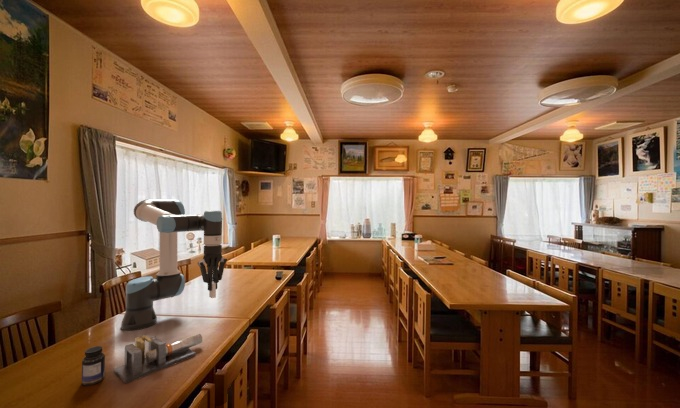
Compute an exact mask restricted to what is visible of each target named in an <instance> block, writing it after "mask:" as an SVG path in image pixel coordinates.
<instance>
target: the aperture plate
mask: <svg viewBox="0 0 680 408" xmlns="http://www.w3.org/2000/svg"><path fill="white" fill-rule="evenodd" d="M150 338H151V337H148V336H147V335H142V336H141V337H139V336H137V337H135V340H134V345H135V346H136V347H137V348H139V349H140V350H141V351H142V360H144V359H145V357H146V342H148V343H149V342H151V339H150Z"/></svg>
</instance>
